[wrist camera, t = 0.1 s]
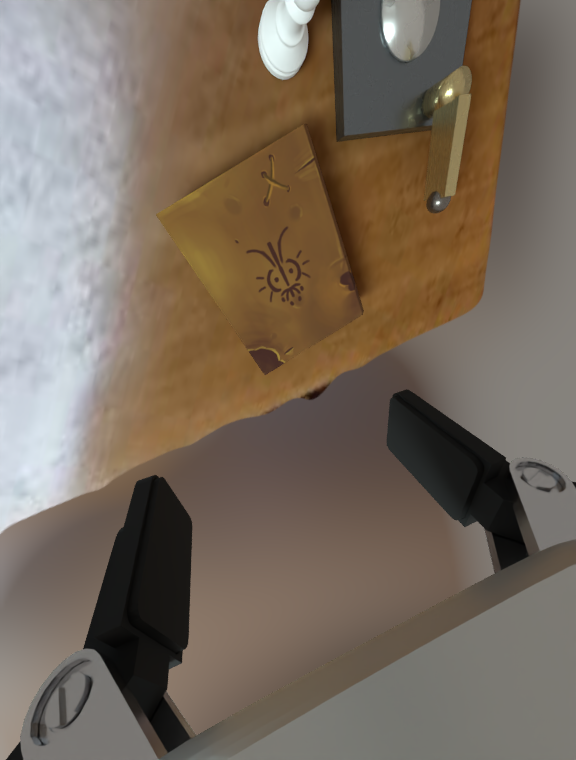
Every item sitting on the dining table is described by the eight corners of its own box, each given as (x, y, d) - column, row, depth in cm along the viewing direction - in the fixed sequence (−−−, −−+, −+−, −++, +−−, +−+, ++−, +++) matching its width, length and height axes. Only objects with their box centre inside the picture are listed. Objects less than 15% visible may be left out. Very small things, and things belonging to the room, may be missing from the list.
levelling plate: (325, -146, 21) (356, -242, 17) (474, -131, 24) (531, -209, 20) (336, 141, 31) (357, 125, 27) (441, 128, 34) (475, 112, 29)
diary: (348, 304, 43) (367, 312, 38) (257, 360, 43) (265, 375, 38) (292, 139, 30) (310, 119, 25) (162, 218, 30) (155, 214, 25)
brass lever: (424, 86, 29) (459, 61, 25) (443, 85, 30) (481, 60, 26) (411, 217, 36) (438, 213, 32) (428, 213, 36) (455, 210, 32)
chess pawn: (312, 51, 26) (356, -26, 19) (282, 94, 27) (312, 37, 20) (279, -11, 24) (315, -128, 16) (247, 39, 25) (267, -50, 17)
